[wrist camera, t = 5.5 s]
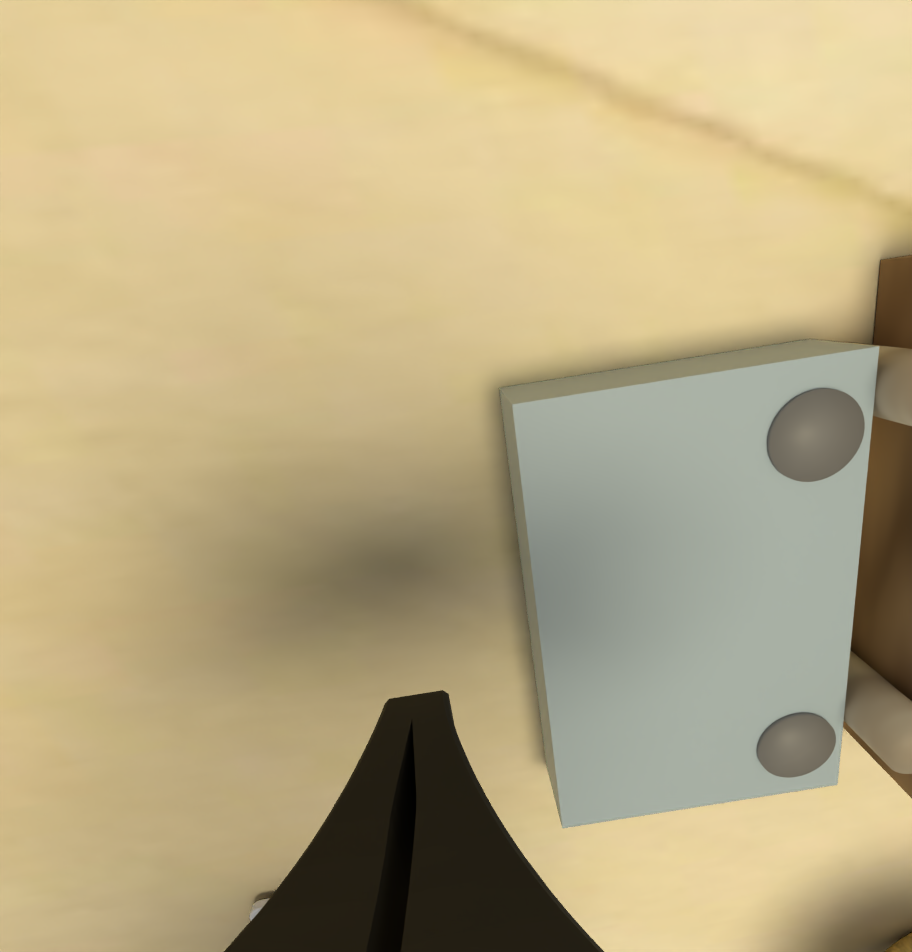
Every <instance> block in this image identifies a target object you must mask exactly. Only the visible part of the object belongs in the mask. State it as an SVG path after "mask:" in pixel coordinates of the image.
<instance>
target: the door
mask: <svg viewBox="0 0 912 952" xmlns="http://www.w3.org/2000/svg"><path fill="white" fill-rule="evenodd" d="M878 356H879V346H872V345H863V344H854V343H844V342H835V341H826V340H816V339H805V340H799V341H793V342H786V343H780V344H774V345H767V346H761V347H755V348H748V349H742V350H736V351H729V352H723V353H717V354H710V355H704V356H698V357H691V358H685V359H679V360H672V361H666V362H660V363H653V364H647V365H641V366H634V367H628V368H622V369H615V370H609V371H603V372H596V373H590V374H584V375H577V376H571V377H565V378H558V379H552V380H546V381H539V382H533V383H527V384H520V385H514V386H508V387H501V388H499V392H500V400H501V407H502V415H503V423H504V431H505V439H506V447H507V455H508V463H509V471H510V479H511V487H512V495H513V503H514V511H515V519H516V527H517V535H518V543H519V551H520V559H521V567H522V575H523V583H524V591H525V599H526V607H527V615H528V623H529V631H530V639H531V647H532V655H533V663H534V671H535V679H536V687H537V695H538V703H539V711H540V719H541V727H542V735H543V743H544V751H545V759H546V766H547V770H548V773H549V777H550V781H551V785H552V789H553V793H554V797H555V801H556V805H557V809H558V813H559V817H560V821H561V825H562V828H568V827H574V826H580V825H587V824H593V823H599V822H606V821H612V820H618V819H625V818H631V817H637V816H643V815H650V814H656V813H662V812H669V811H675V810H681V809H688V808H694V807H700V806H707V805H713V804H719V803H725V802H732V801H738V800H744V799H751V798H757V797H763V796H770V795H776V794H782V793H788V792H795V791H801V790H807V789H814V788H820V787H826V786H833V785H837V783H838V773H839V762H840V752H841V742H842V731H843V721H844V710H845V700H846V690H847V679H848V669H849V658H850V648H851V637H852V627H853V617H854V606H855V596H856V585H857V575H858V564H859V554H860V544H861V533H862V523H863V512H864V502H865V491H866V481H867V471H868V460H869V450H870V439H871V429H872V419H873V408H874V398H875V387H876V377H877V366H878Z"/></svg>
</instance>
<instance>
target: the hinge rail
mask: <svg viewBox="0 0 912 952" xmlns="http://www.w3.org/2000/svg"><path fill="white" fill-rule="evenodd" d="M845 343H851V342H845ZM854 344H860V343H854ZM863 345H870V344H863ZM872 346H879V356H878V366H877V377H876V387H875V398H874V408H873V419H872V429H871V439H870V450H869V460H868V471H867V481H866V491H865V502H864V512H863V523H862V533H861V544H860V554H859V564H858V575H857V585H856V596H855V606H854V617H853V627H852V637H851V648H850V658H849V669H848V679H847V690H846V700H845V710H844V721H843V727H844V728H845V730H846V731H847V732H848V733H849V734H850V735H851V736H852V737H853V738H854V739H855V740H856V741H857V742H858V743H859V744H860V745H861V746H862V747H863V748H864V749H865V750H866V751H867V752H868V753H869V754H870V755H871V756H872V758H873V759H874V760H875V761H876V762H877V763H878V764H879V765H880V766H881V767H882V768H883V769H884V770H885V771H886V772H887V773H888V774H889V775H890V776H891V777H892V778H893V779H894V780H895V781H896V782H897V783H898V785H899V786H900V787H901V788H902V789H903V790H904V791H905V792H906V793H907V794H908V795H909V796H910V797H911V798H912V255H908V256H902V257H896V258H890V259H883V260H881V264H880V275H879V286H878V297H877V308H876V319H875V330H874V341H873V345H872Z"/></svg>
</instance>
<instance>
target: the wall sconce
mask: <svg viewBox="0 0 912 952" xmlns="http://www.w3.org/2000/svg"><path fill="white" fill-rule="evenodd" d="M885 952H912V933H910V934H908V935H907V936H905V937H903V938H901V939H900V940H898V941H897V942H896V943H894V944H893V945H892V946H891V947H889V948H888V949H887V950H886V951H885Z"/></svg>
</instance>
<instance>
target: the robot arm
mask: <svg viewBox="0 0 912 952" xmlns="http://www.w3.org/2000/svg"><path fill="white" fill-rule="evenodd" d="M249 917H250V921H251V922H250V923H249V924H248V925H247V926H246V927H245V928H244V930H243V931H242V932H241V933H240V934H239V935H238V936H237V938H236V939H235V940H234V941H233V942H232V943H231V944H230V946H229V947H228V948H227V949H226V950H225V951H224V952H604V951H603V950H602V949H601V948H600V947H599V946H598V945H597V944H596V943H595V942H594V940H593V939H592V938H591V937H590V936H589V935H588V934H587V933H586V932H585V931H584V930H583V928H582V927H581V926H580V925H579V924H578V923H577V922H576V921H575V920H574V918H573V917H572V916H571V915H570V914H569V913H568V911H567V910H566V909H565V908H564V907H563V905H562V904H561V903H560V902H559V901H558V899H557V898H556V897H555V896H554V895H553V893H552V892H551V891H550V890H549V888H548V887H547V886H546V884H545V883H544V882H543V880H542V879H541V878H540V876H539V875H538V874H537V872H536V871H535V870H534V868H533V867H532V866H531V864H530V863H529V862H528V861H527V859H526V858H525V857H524V855H523V854H522V852H521V851H520V850H519V848H518V847H517V845H516V844H515V842H514V841H513V839H512V838H511V836H510V835H509V833H508V832H507V830H506V828H505V827H504V825H503V824H502V822H501V820H500V819H499V817H498V816H497V814H496V812H495V811H494V809H493V807H492V806H491V804H490V802H489V800H488V798H487V797H486V795H485V793H484V791H483V789H482V787H481V785H480V784H479V782H478V780H477V778H476V776H475V774H474V772H473V770H472V768H471V766H470V763H469V761H468V759H467V756H466V754H465V752H464V750H463V747H462V745H461V743H460V740H459V737H458V735H457V732H456V729H455V726H454V721H453V716H452V711H451V705H450V700H449V695H448V694H447V693H446V692H444V691H443V690H442V691H436V692H430V693H423V694H417V695H411V696H405V697H398V698H392V699H389V700H388V701H387V702H386V703H385V705H384V708H383V710H382V713H381V715H380V717H379V720H378V722H377V724H376V727H375V729H374V731H373V733H372V735H371V738H370V740H369V742H368V744H367V746H366V748H365V750H364V752H363V754H362V756H361V758H360V760H359V762H358V764H357V766H356V768H355V770H354V772H353V773H352V775H351V777H350V779H349V781H348V783H347V785H346V786H345V788H344V790H343V791H342V793H341V795H340V797H339V798H338V800H337V802H336V803H335V805H334V807H333V809H332V810H331V812H330V814H329V815H328V817H327V819H326V820H325V822H324V823H323V825H322V826H321V828H320V830H319V831H318V833H317V834H316V836H315V837H314V839H313V840H312V842H311V843H310V845H309V846H308V848H307V849H306V850H305V852H304V853H303V855H302V856H301V858H300V859H299V860H298V862H297V863H296V865H295V866H294V867H293V869H292V870H291V871H290V873H289V874H288V875H287V877H286V878H285V879H284V881H283V882H282V883H281V884H280V886H279V887H278V888H277V890H276V891H275V892H274V894H273V895H272V896H271V898H268V899H262V900H259V901H257V902H255V903H254V904H253V906H252V908H251V912H250V915H249Z"/></svg>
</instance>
